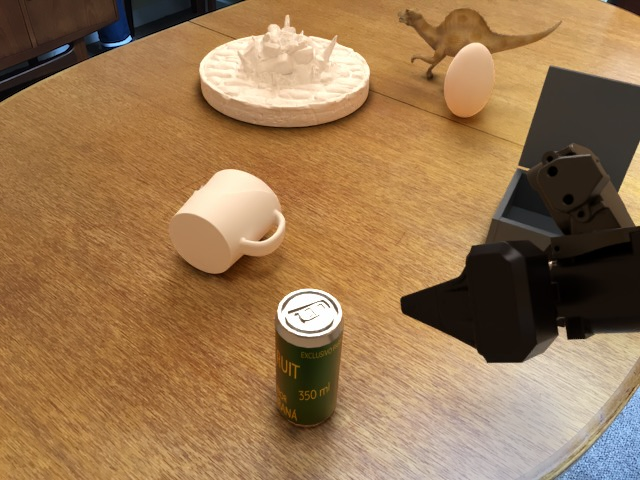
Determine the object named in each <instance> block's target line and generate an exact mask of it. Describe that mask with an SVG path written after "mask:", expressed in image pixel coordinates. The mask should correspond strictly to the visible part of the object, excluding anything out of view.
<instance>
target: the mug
mask: <svg viewBox="0 0 640 480" xmlns="http://www.w3.org/2000/svg"><path fill="white" fill-rule="evenodd" d="M286 224H287V223H286V219H285V217H284V215H283V210H282V205H281V202H280V200H279V198H278V196H277V194H276V193H275V192H274V190H273V189H271V187H270V186H269V185H268V184H267V183H266V182H264V181H263V180H262V179H260V178H258V177H257V176H255V175H253V174H251V173H249V172H246V171H243V170H240V169H232V168H230V169H229V168H228V169H222V170H219V171H217V172H215V173H214V174H213V175H212V176H211V178H210V179H208V181H207V182H206V183H205V184H204V185H203V184H201V186H200V188H199V190H197V189H195V190H194V191H193V193H192V195H191V196H190V197H189V199H187V201H186V202H185V203H184V204H183V205H182V206H181V208H179V210H178V211H177V212H176V213H175V214H174V215H173V216H172V217H171V219H170V220H169V223H168V235H169V239H170V242H171V244H172V245H173V247H174V249H175V251H176V252H177V253H178V254H179V256H180V257H181V258H182V259H183V260H184V261H186V262H187V263H188V264H189V265H191V266H192V267H194V268H195V269H198V270H199V271H202V272H205V273H208V274H214V275H215V274H216V275H217V274H222V273H224V272H226V271H227V270H229V269H230V268H231V267H232V266H233V265H234V264H235V263H236V262H238V260H239V259H240V258H242V257H243V256H244V255H246V256H250V257H258V258H259V257H265V256H268V255H270V254H271V253H273V252H276V250H277V249H279V247H280V246H281V244H282V243H283V241H284V239H285V236H286V230H287V229H286V226H287V225H286ZM275 227H277V229H276V231H275V232H274V233H273V235H271V236H270V237H269V238H266V239H265V240H261V239H263V238H264V237H265V236H266V235H267V234H268V233H269V232H270V231H271V230H272V229H273V228H275ZM260 240H261V241H260Z"/></svg>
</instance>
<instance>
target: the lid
mask: <svg viewBox="0 0 640 480" xmlns="http://www.w3.org/2000/svg"><path fill="white" fill-rule="evenodd" d="M572 143H575V144H578V145H580V146H583V147H586V148H588V149H590V150H591V151H592V152H593V154H594V155H595V156H597V157H598V158H599V160H600V161H599V162H600V164H601V166H602V167H603V169H604V171H605V172H606V174H607V175H609V176H610V181H611V182H612V184H613V186H614V187H615V189H616V191H617V193H618V194H619V193H620V192H619V191H620V189H621V187H622V185H623V183H624V180H625V177H626V175H627V173H628V171H629V168H630V166H631V163H632V161H633V158H634V156H635V154H636V152H637V150H638V147H639V145H640V84H636V83H631V82H627V81H624V80H619V79H614V78H611V77H610V78H609V77H605V76H601V75H597V74H592V73H587V72H583V71H579V70H574V69H570V68H565V67H560V66H558V65H557V66H556V65H552V64H550V65H549V66H548V68H547V72H546V75H545V79H544V82H543V85H542V88H541V91H540V94H539V97H538V100H537V103H536V107H535V110H534V113H533V116H532V119H531V123H530V125H529V129H528V132H527V134H526V137H525V141H524V145H523V148H522V150H521V154H520V157H519V160H518V164H517V166H518V167H522V168H525V169H527V170H529V169H531V168H532V167H534V166H536V165H537V164H539V163H541V162H542V156H543V155H544V153H546V152H548V151H553V152H556V151H560V150H562V149H564V148H566V147H567V146H569V145H570V144H572Z"/></svg>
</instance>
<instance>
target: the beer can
mask: <svg viewBox="0 0 640 480" xmlns="http://www.w3.org/2000/svg"><path fill="white" fill-rule="evenodd" d="M274 316H275V317H274V357H275V358H274V359H275V361H274V362H275V365H274V367H275V401H276V407H277V409H278V411H279V413H280V414H281V415H282V416H283V417H284V419H286V420H287V421H288V422H289V423H291V424H293V425H295V426H296V427H303V428H311V427H315V426H318V425H320V424H322V423H323V422H325V421H327V419H328V418H330V417H331V416H332V414H333V413H334V411H335V409H336V407H337V406H336V405H337V401H338V394H339V393H338V392H339V391H338V390H339V380H340V373H341V372H340V371H341V360H342V350H343V340H344V339H343V338H344V329H345V328H344V327H345V319H344V315H343V311H342V305H341V304H340V302H339V300H337V298H335V297H334V296H332V295H331V294H330V293H328V292H325V291H323V290H320V289H314V288H302V289H299V290H295V291H292V292H290V293H289V294H287V295H286V296H284V297H283V298H282V300H281V301H280V302H279V304H278V308H277V311H276V314H275V315H274Z"/></svg>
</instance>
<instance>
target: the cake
mask: <svg viewBox="0 0 640 480" xmlns="http://www.w3.org/2000/svg"><path fill="white" fill-rule="evenodd" d="M290 25H291V19H290V15H289V14H286V15H285V18H284V24H283V27H282V28H281V27H280V26H279V25H277V24H276V23H275V24H273V23H270V24H269V25H268V26H267V32H265V34H261V35H253V34H252V35H251V36H246V37H241V38H237V39H235V40H230V41H228V42H225V43H224V44H221V45H218V46H217V47H215V48H214V49H212V50H211V51H209V52H208V53H207V54H206V55H205V56H204V57H203V58H202V60H201V62H200V63H199V68H198V71H199V72H198V74H199V77H200V88H201V93H202V95H203V98H204V99H205V100H206V102H207V103H208V104H209V105H210V106H211V107H212V108H213V109H214V110H216V111H218V112H219V113H221V114H223V115H224V116H226V117H230V118H232V119H234V120H236V121H237V120H238V121H240V122H244V123H248V124H253V125H258V126H265V127H277V128H297V127H298V128H301V127H309V126H317V125H321V124H326V123H330V122H334V121H337V120H340V119H343V118H345V117H346V116H349V115H350V114H352V113H354V112H356V111H357V110H358V109H359V108H360V107H361V106H363V104H365V102H366V100H367V98H368V95H369V91H370V76H371V70H370V67H369V65H368V63H367V60H366V58H364V57H363V55H361V54H359V53H358V52H355V51H354V49H353V48H351V47H346V46H344V45H342V44H339V42H337V40H338V35H334V37H333V38H332V39H331V40H330V39H326V38H323V37H318V36H314V35H313V36H312V35H309V36H307V35H305V34H304V30H301V32H300V33H297V32H296V31H297V29H296V28H295V27H294V26H290Z"/></svg>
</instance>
